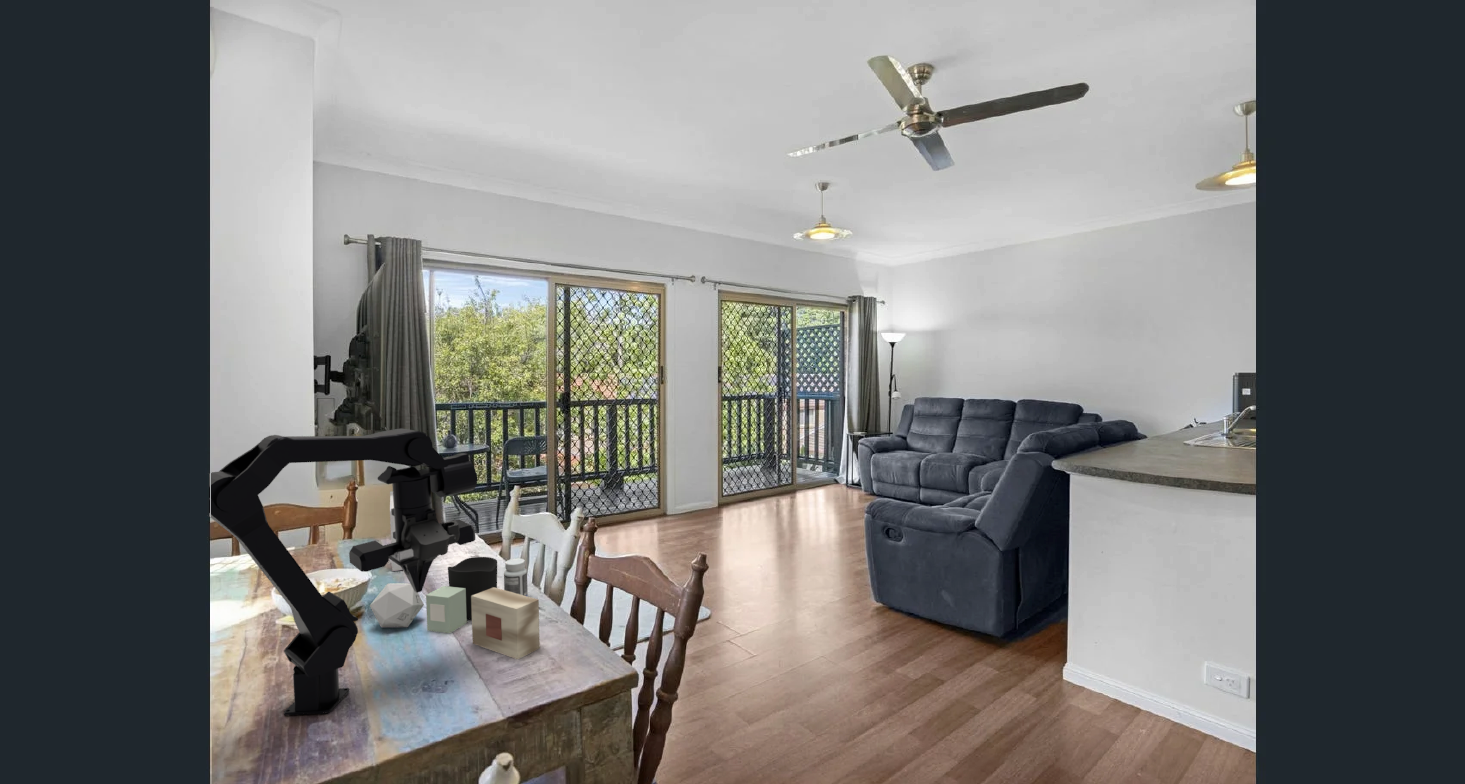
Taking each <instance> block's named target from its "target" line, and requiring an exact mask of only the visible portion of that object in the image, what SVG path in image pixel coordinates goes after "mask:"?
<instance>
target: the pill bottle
mask: <svg viewBox="0 0 1465 784" xmlns="http://www.w3.org/2000/svg"><path fill="white" fill-rule="evenodd" d="M525 567H526V560H525V559H524V558H520V557H519V558H510V559H508V560H506V561H505V567H504V569H505V570H504V572H503V585H504V587H503V588H504V589H503V590H506V591H509V592H513V593H516V594H520V595H524V596H527V597H529V596H528V589H529V588H528V569H527V568H525Z"/></svg>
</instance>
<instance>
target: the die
mask: <svg viewBox="0 0 1465 784" xmlns="http://www.w3.org/2000/svg"><path fill="white" fill-rule="evenodd" d="M424 606H425V604H424V601H423V599H422V598H421V595H420V593H419V592H418V593H416V592H415V591H414V589H413V587H412V585H411V584H410V582H409V583H408V582H407V583H406V582H405V583H393V582H392V583H386V584H385V586H384V587H383V589H381V591H379V593H378V595H377V596H376V597H375V598H374V600H373V601H372V602H371V603H370V605H369V607H370V610H372V613H373V614H374V617H375V618H376V620H377V622H378V625H379V626H380V628H381V629H382V628H385V629H386V628H408V627H409V626H410V625H411V623H412V622H413V621H414V619H415V618H416V617H417V615H418V614H419V612H420V611H421V610H422V608H423V607H424Z"/></svg>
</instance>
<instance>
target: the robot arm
mask: <svg viewBox="0 0 1465 784" xmlns="http://www.w3.org/2000/svg"><path fill="white" fill-rule="evenodd" d="M350 461H351V462H353V461H354V462H356V461H375V462H382V463H387V464H394V465H403V466H409V467H403V468H399V469H397V468H396V467H393V466H390V465H388V466H387V467H386V469H385V470H384V471H383V472H382V473H381V474H379V475H378V477H377V480H378V481H380V482H381V483H384V484H385V485H391V486H392V487H391V488H392V491H393V503H394V508H393V509H391V513H392V515H393V516H394V518H395V532H393V538H394V539H396V542H395V543H391V542H390V543H388V544H384V545H383V544H381V543H380V542H378V541H377V540H372V541H368V542H364V543H360V544H356V545H353V546H352V548H351V549H350V550H349V552H348V554H349V555H348V556H349V557H348V558H349V563H350V564H351V565H352V566H354V567H355V568H356V569H358V570H359V571H360V572H366V573H367V572H369V571H373V570H378V569H381V568H384V567H385V566H386V565H387V563H389V561H391V562H392V561H393V562H395V563H396V564H398V565H400V566H401V568H402V569H403V570H402V571H403V572H404V575H405V576H406V578H407V580H408V582H409V583H410V584H411V585H412V587H413V589H414V591H415V592H416V593H418V594H419V593H421V592H422V591H423V588H424V585H425V582H426V579H427V577H428V572H429V570H430V568H431V566H432V564H433V561H434V560H435V559H436V558H438V556H445V555H446V554H448V552H449V546H450V545H453V544H457V545H459V546H462V545H465V544H470V543H473V542H475V541H476V530H475V528H474V526H473V525H471V524H469V523H467V522H466V521H464V520H461V519H454V520H450V521H443V522H439V521H438V518H437V513H436V509H434V508H433V505H432V493H433V494H435V495H437V497H439V498H446V497H449V496H453V495H457V494H461V493H462V494H463V493H467V492H470V491H474V490H475V489H476V488H477V484H478V472H477V471H476V469H475V467H474V465H473V463H472V462H471V461H470V455H469V454H468V453H464V452H462V453H457V454H454V455H451V456H446V457H442V455H441V454H440V453H439V452H438V451H437V450H436V449H435V448H434V447H433V442H432V439H431V437H430V436H429V435H428V434H427V432H424V431H418V430H413V429H408V428H396V429H395V428H394V429H388V430H383V431H379V432H375V433H372V434H367V435H365V434H364V435H327V436H326V435H325V436H324V435H318V436H317V435H316V436H315V435H313V436H311V435H308V436H307V435H306V436H303V435H301V436H285V435H284V436H283V435H279V434H273V435H267V436H266V437H264V438H262V440H260V442H258V443H257V444H256V445H255V446H253V447H252V448H250V449H249V450H248V451H246V452H244V453H242V454H241V455H239V456H238V457H236V458H235V459H233V460H231V461H230V462H229V463H227V464H226V465H225V466H223V468H221V469H220V470H218V471H214V472H212V471H211V472H210V473H211V517H210V473H208V474H209V516H208V517H210V519H211V520H213V521H214V522H216V523H217V524H218V525H219V526H220V527H222V528H223V529H224V530H226V531H227V532H228V533H229V534H231V535H232V536H233V537H234V538H235V539H236V540H237V541H238V542H239V544H240V545H241V546H242V548H243V550H245V551H246V553H247V554H248V556H249V557H250V558H251V559H252V560H253V561H254V563H255V564H256V565H257V567H258V568H259V569H260V571H261V572H262V573H263V575H265V577H266V578H267V579H268V581H270V583H271V585H272V586H273V587H274V589H276V591H277V592H278V593H279V595H280V596H281V597H282V599H283V600H284V601H285V602H286V603H287V604H288V605H287V606H288V607H290V610H291V613H292V617H293V620H294V623H295V625H296V627H297V630H298V633H297V634H296V636H295V637H293V639H292V640H291V641H290V642H289V644H288V645H287V646H286V647H285V648H284V650H283V653H284V654H285V656H286V658H287V659H288V661H289V662H290V663H292V664H293V665H294V667H293V674H292V679H293V699H294V702H292V703H291V704H290V705H289V706H288V707H287V708H286V709H285V710H283V715H284V716H297V715H298V716H299V715H319V714H321V715H322V714H329V713H330V712H332V711H333V710H334V709H335V707H336V706H338V704H339V703H340V702H341V701H342V700H343V699H344V698H345V697H346V696H347V695H348V694H349V693H350V688H349V687H343V688H340V680H339V679H340V677H339V675H340V674H339V669H341V668H343V667H344V665H345V663H346V659H347V657H348V654H349V650H350V648H351V647H352V646H353V645H354V643H355V641H356V638H357V636H358V634H359V629H358V626H357V624H356V623H355V622H356V621H358V620H359V618H358V617H357V616H355V615H354V614H352V613H351V612H350V610H349V607H348V604H347V603H346V601H345V600H344V599H342V598H341V597H339V595H338V596H337V595H336V594H334V593H333V592H331V591H327V592H326V593H325V594H324V595H322V594H321V593H320V591H319V590H318V589H317V588H316V586H315V585H314V584H313V582H312V581H311V580H310V578H309V577H308V575H307V574H306V573H305V571H304V570H303V569H302V567H301V566H300V565H299V564H298V562H297V561H296V560H295V558H294V557H293V556H292V554H291V553H290V552H289V550H288V548H287V547H286V546H285V545H284V543H283V542H282V541H281V540H280V538H279V537H278V535H277V534H276V533H275V531H274V530H273V529H272V527H271V526H270V524H269V522H268V520H267V517H266V513H265V508H264V505H263V503H262V501H261V499H260V497H259V495H260V494H261V493H263V492H264V490H265V489H267V488H268V487H269V486H270V485H271V484H272V482H273V481H274V480H275V479H276V478H277V476H278V475H279V474H280V473H281V472H282V471H283V469H284V468H286V467H287V466H288V465H289V464H295V463H297V464H298V463H323V462H324V463H326V462H327V463H328V462H350ZM418 466H422V467H426V468H423V469H417V468H416V467H418Z"/></svg>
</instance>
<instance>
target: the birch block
mask: <svg viewBox="0 0 1465 784" xmlns="http://www.w3.org/2000/svg"><path fill="white" fill-rule="evenodd" d="M539 602H540V601H539V599H538V598H534V597H532V596H531V597H530V596H528V597H527V596H524V595H520V594H516V593H513V592H509V591H506V590H504V589H501V588H498V587H497V588H495V587H493V588H491V589H488V590H485V591H483V592H480V593H477V594H475V595H472V596H471V606H472V619H471V630H472V631H471V637H472V645H476V646H477V647H482V648H484V649H487V650H490V651H493V652H496V653H498V654H500V655H501V654H502V655H504V656H507V657H510V658H513V659H515V660H520V659H522V658H523V657H526V656H527V655H529V654H531V653H534V652H535V651H537V650H540V647H541V646H540V641H541V639H540V610H539V609H540V604H539Z"/></svg>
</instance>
